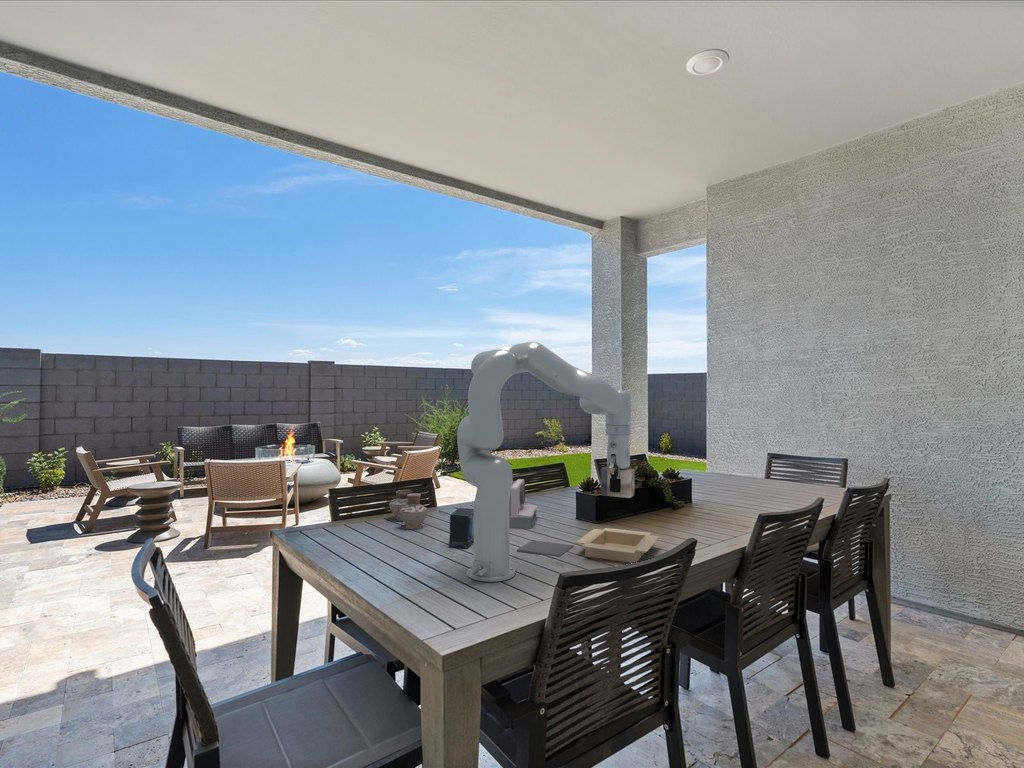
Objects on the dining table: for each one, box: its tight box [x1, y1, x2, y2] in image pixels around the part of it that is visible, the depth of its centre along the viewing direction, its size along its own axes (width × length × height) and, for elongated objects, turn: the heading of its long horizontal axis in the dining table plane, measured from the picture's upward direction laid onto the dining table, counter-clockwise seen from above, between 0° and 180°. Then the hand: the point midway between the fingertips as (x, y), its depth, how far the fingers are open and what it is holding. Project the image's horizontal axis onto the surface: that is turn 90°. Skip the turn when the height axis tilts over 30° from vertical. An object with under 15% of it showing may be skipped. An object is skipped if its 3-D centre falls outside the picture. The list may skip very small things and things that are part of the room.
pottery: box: [389, 489, 428, 530], centre depth 200 cm, size 11×25×12 cm, turn 26°
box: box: [600, 466, 635, 499], centre depth 164 cm, size 5×9×8 cm, turn 64°
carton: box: [575, 527, 660, 564], centre depth 163 cm, size 24×21×4 cm
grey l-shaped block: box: [509, 478, 538, 530], centre depth 202 cm, size 21×21×15 cm
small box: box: [448, 507, 474, 549], centre depth 172 cm, size 11×6×10 cm, turn 168°
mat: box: [516, 539, 575, 558], centre depth 166 cm, size 12×14×1 cm
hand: (617, 489), depth 164 cm, fingers closed on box, 5 cm apart
